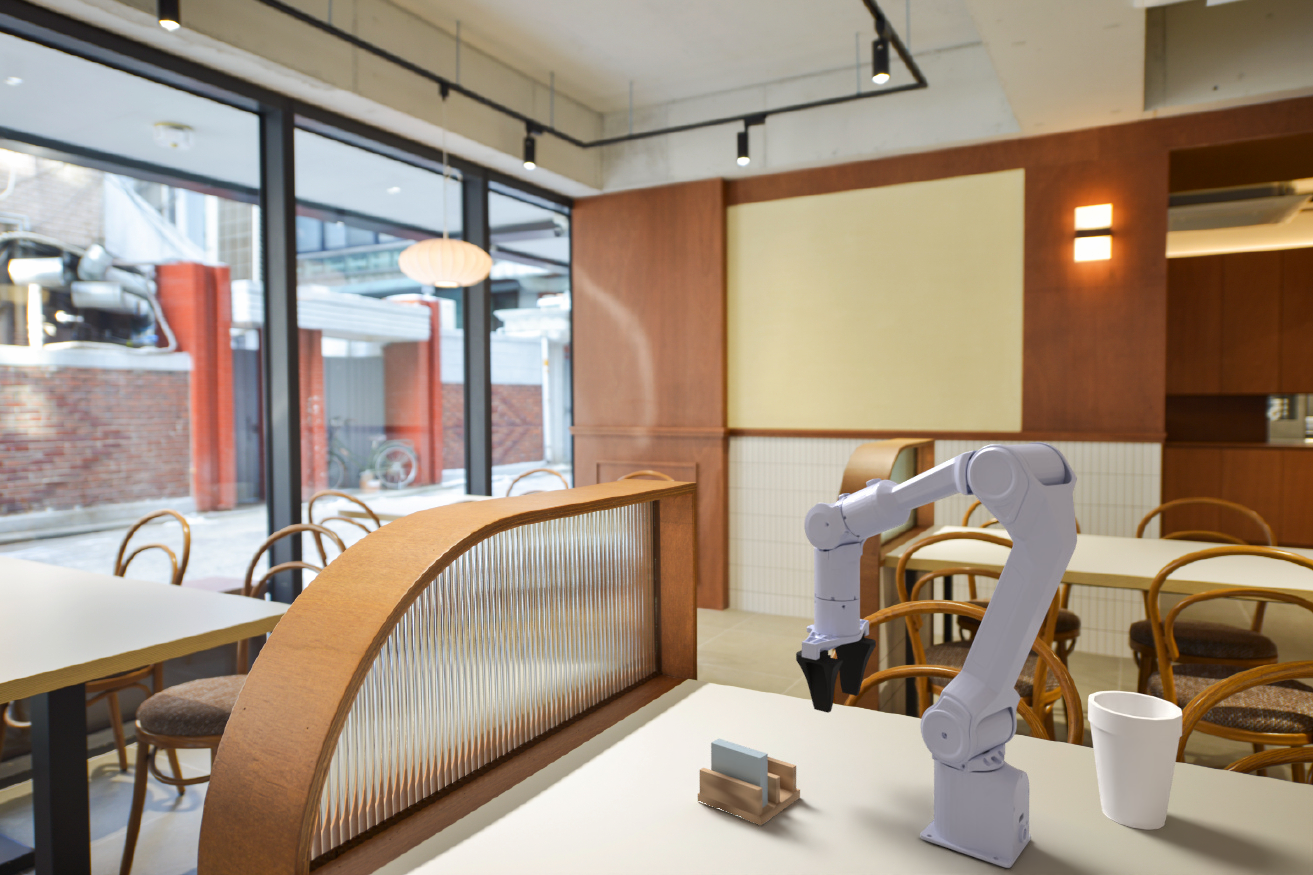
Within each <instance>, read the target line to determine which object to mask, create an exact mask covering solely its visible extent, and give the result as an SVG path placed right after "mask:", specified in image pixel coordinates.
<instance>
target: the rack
mask: <svg viewBox="0 0 1313 875" xmlns="http://www.w3.org/2000/svg"><path fill="white" fill-rule="evenodd" d="M800 798H801V789H800V788H797V765H796V764H792V763H789V762H786V761H783V760H779V759H776V758H774V757H771V756H768V804H767V805H766V806H765V807H763V808H762V788H761V787H759V786H756V785H753V784H750V783H747V782H744V781H741V780H738V779H735V778H732V777H730V776H727V775H724V774H721V773H718V772H715V771H712V770H711V769H709V768H706V767H702V768H701V769H699V792H698V793H697V802H698V801H701V802H703V803H706V804H707V805H710V806H713V807H715V808H720V809H722V810H724V811H727V812H729V813H732V814H734V815H738V816H741V817H742V818H744V819H746V820H745V821H747V820H749V821H750V822H749V821H748V822H749V823H752V822H754V823H753V824H755V823H756V824H755V825H757V824H759V825H758V826H760V825H762V824H763V825H765V822H766V823H767V822H768V821H770V820H771V819H773V818H774V817H775V816H777V815H778V814H780V813H781V812H782V811H784V810H785V809H786V808H788V807H789V806H790V805H792V804H793V803H795V802H796V801H797V800H799V799H800ZM794 801H795V802H794ZM707 805H706V806H707ZM710 806H709V807H710ZM713 807H712V808H713ZM715 808H714V809H715ZM784 808H785V809H784ZM783 809H784V810H783ZM780 811H781V812H780ZM734 815H733V816H734ZM773 816H774V817H773ZM772 817H773V818H772ZM742 818H741V819H742ZM744 819H743V820H744ZM763 825H762V826H763Z"/></svg>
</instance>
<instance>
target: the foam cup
mask: <svg viewBox="0 0 1313 875" xmlns="http://www.w3.org/2000/svg"><path fill="white" fill-rule="evenodd" d="M1087 721H1088V722H1089V724H1090V731H1091V740H1092V749H1093V754H1094V762H1095V769H1096V770H1095V771H1096V777H1097V784H1098V791H1099V798H1100V799H1099V800H1100V806H1101V812H1102V814H1104V815H1105V816H1106V817H1107V819H1110V820H1112V821H1114V822H1115V823H1117V824H1120V825H1122V826H1124V827H1125V826H1126V827H1129V828H1132V829H1133V828H1134V829H1140V830H1145V831H1146V830H1147V831H1148V830H1158V829H1161V828H1162V827H1164V826H1165V824H1166V823H1165V821H1166V819H1167V814H1168V809H1169V808H1168V807H1169V802H1170V797H1171V791H1172V790H1171V789H1172V784H1173V779H1174V773H1175V766H1176V761H1177V756H1178V749H1179V742H1180V737H1183V712H1182V708H1180V707H1179V706H1177V705H1176V704H1175V703H1173V702H1171V701H1168V700H1165V699H1162V698H1159V697H1156V696H1153V695H1148V694H1143V693H1139V692H1133V691H1122V690H1121V691H1120V690H1104V691H1103V690H1101V691H1096V692H1093V693H1090V694H1089V695H1088V699H1087Z"/></svg>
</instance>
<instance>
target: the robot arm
mask: <svg viewBox="0 0 1313 875" xmlns="http://www.w3.org/2000/svg"><path fill="white" fill-rule="evenodd" d="M1077 481H1078V477H1077V475H1076V474H1075V472H1074V470H1073V468H1072V467H1071V465H1070V464H1069V462H1068V460H1067V459H1066V457H1065V455H1064V454H1063V452H1061V450H1059V449H1058V448H1057V446H1054V445H1052V444H1051V443H1050V444H1049V443H1048V442H1041V441H1036V442H1029V443H1026V444H1025V443H1024V444H1023V443H1022V444H1021V443H1019V444H1003V443H1000V444H999V443H991V444H988V445H985V446H982V447H981V448H980V449H978V450H977V449H976V450H970V451H969V450H968V451H966V452H963V453H960V454H958V455H957V456H954V457H952V458H951V459H950V458H949V460H947V461H944V462H942V463H940V464H938V465H936V466H934V467H932V468H930V469H928V470H925V471H923V472H921V473H919V474H918V475H916V476H915V475H914V476H913V477H911V478H910V479H908V480H906V481H904V482H901V483H897V482H896V481H893V480H892V479H891V480H890V479H883V480H882V478H872V479H869V480H868V481H866V482H865V484H866V487H864V488H863V489H860V490H857V491H856V492H853V493H849V492H848V493H841V494H839V495H838V499H837V501H836V502H832V503H831V502H830V503H827V502H817V503H816V504H815V505H814V506H812V507H811V508H810V509H809V510H808V512H807V513H806V515H805V517H804V518H805V519H804V526H803V527H804V531H805V536H806V538H807V540H808V542H809V543H810V544H811V545H812V546H813V560H814V561H813V567H814V568H813V570H814V572H813V574H814V576H813V579H814V580H813V581H814V582H813V585H814V586H813V590H814V592H813V593H814V595H813V600H814V601H813V602H814V603H813V605H814V606H813V609H814V610H813V612H814V614H813V616H814V617H813V621H814V622H813V624H810V625H807V626H806V632H807V633H809V634H808V636H807V638H806V639H805V640H802V641H801V650H799V651H797V652H796V653H795V656H796V657H795V661H796V662H797V664H798V665H799V667H800V669H801V671H802V672H803V675H804V677H805V680H806V683H807V686H808V690H809V694H810V698H811V703H812V705H813V709H814V710H816V711H819V712H824V713H828V714H829V713H831V712H832V709H833V706H834V700H835V699H834V698H835V697H834V696H835V687H836V683H837V682H836V681H837V678H838V674H839V681H840V682H839V683H840V687H841V688H840V689H841V693H843V694H846V695H851V696H855V697H856V696H859V695H860V691H861V687H862V684H863V681H864V680H863V679H864V676H865V671H866V668H867V665H868V662H869V659H870V657H871V656H872V654H873V652H874V650H875V648H876V646H877V643H876V642H877V641H876V640H875V639H873V638H869V637H867V636H869V635H870V620H867V619H862V618H861V557H862V556H863V552H864V549H863V548H864V545H865V542H866V541H867V539H869V538H871V537H874V536H877V535H879V534H883V533H886V532H887V531H890V530H892V529H895V528H898V527H900V526H904V525H905V524H906V523H907V522H908V521H909V519H910V516H911V512H912V510H913V509H917V508H919V507H923V506H925V505H928V504H931V503H934V502H937V501H940V500H943V499H946V498H948V497H951V496H954V495H957V494H960V493H961V495H964V496H972V495H974V496H975V497H976V498H977V500H978V501H979V502H980V504H982V505H983V506H984V507H985V509H987V511H988V512H989V513H990V514H991V515H992V516H993V517H994V518H995V519H996V520H997V521H998V522H999V523H1000V525H1001V526H1003V528H1004V529H1005V530H1006V532H1007V534H1008V535H1009V537H1010V539H1011V541H1012V548H1011V550H1010V551H1009V555H1008V557H1007V559H1006V561H1005V564H1004V567H1003V569H1002V572H1001V574H1000V576H999V578H998V581H997V584H996V586H995V589H994V591H993V593H992V595H991V598H990V600H989V603H988V606H987V608H986V610H985V612H984V615H983V617H982V620H981V623H980V625H979V627H978V629H977V631H976V634H975V636H974V640H973V642H972V644H971V646H970V648H969V651H968V653H967V656H966V658H965V661H964V663H963V666H962V669H961V670H960V671H959V672H958V674H957V675H955V676H954V678H953V679H951V680H950V682H949V683H948V684H947V685H946V686H945V687H944V688H943V690H942V691H941V693H940V695H939V698H938V700H937V701H936V702H935V703H934V704H932V705H931V706H929V707H928V708H927V709H926V710H925V711H924V712H923V714H922V716H921V720H920V733H921V738H922V739H923V740H922V741H923V742H924V744H925V746H926V748H927V750H928V751H929V752H930V754H931V759H932V760H933V820H932V821H931V822H930V823H929V824H928V825H927V826H926V827H925V828H924V829H923V830H922V831H921V832H920V835H919V837H920V839H922V840H924V841H927V842H929V843H932V844H934V845H939V846H941V847H945V848H946V849H947V848H948V849H951V850H953V851H956V852H958V853H962V854H963V855H967V856H971V857H974V858H976V859H979V860H982V861H984V862H987V863H991V864H994V865H997V866H1000V867H1003V868H1006V869H1010V868H1011V867H1012V866H1013V865H1014V864H1015V862H1016V860H1018V858H1019V856H1020V855H1021V853H1022V852H1023V850H1024V849H1025V848H1026V846H1027V845H1028V844H1029V842H1030V841H1031V840H1032V836H1031V834H1030V781H1029V775H1028V773H1027V771H1024V770H1021V769H1019V768H1017V767H1014V766H1012V765H1011V764H1009V762H1007V761H1006V760H1005V755H1006V744H1007V743H1009V742H1011V740H1012V739H1013V738H1014V737H1015V734H1016V732H1017V725H1018V720H1017V709H1018V706H1019V703H1020V701H1021V696H1020V694H1019V692H1018V691H1017V690H1016V689H1015V686H1016V683H1017V681H1018V680H1019V677H1020V674H1021V673H1022V670H1023V667H1024V666H1025V663H1026V662H1027V658H1028V657H1029V654H1030V652H1031V650H1032V647H1033V645H1034V643H1035V641H1036V638H1037V636H1038V633H1039V631H1040V629H1041V627H1042V625H1043V622H1044V620H1045V618H1046V615H1047V613H1048V611H1049V608H1050V607H1051V604H1052V602H1053V599H1054V598H1055V596H1056V593H1057V590H1058V589H1059V586H1060V585H1061V582H1062V580H1063V578H1064V574H1065V573H1066V571H1067V568H1068V566H1069V563H1070V562H1071V559H1072V557H1073V555H1074V552H1075V550H1076V547H1077V543H1078V533H1077V523H1076V513H1075V504H1074V503H1075V502H1074V495H1073V494H1074V490H1075V486H1076V484H1077ZM833 649H834V651H835V655H836V658H834V657H832V656H831V654H829V651H831V650H833Z"/></svg>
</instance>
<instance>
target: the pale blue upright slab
mask: <svg viewBox="0 0 1313 875" xmlns="http://www.w3.org/2000/svg"><path fill="white" fill-rule="evenodd" d="M710 747H711V748H710V752H711V753H710V754H711V755H710V756H711V758H710V759H711V761H710V762H711V763H710V764H711V766H710V767H711V769H710V770H712V771H715V772H718V773H721V774H724V775H727V776H730V777H732V778H735V779H738V780H741V781H744V782H747V783H750V784H753V785H756V786H759V787H761V788H762V808H763V807H765V806H766V805H767V804H768V757H769V756H768V753H767V752H763V751H759V750H757V749H753V748H750V747H747V746H743V745H741V744H738V743H735V742H731V741H728V740H725V739H722V738H717V739H715V740H714V741H712V742H711V743H710Z"/></svg>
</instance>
